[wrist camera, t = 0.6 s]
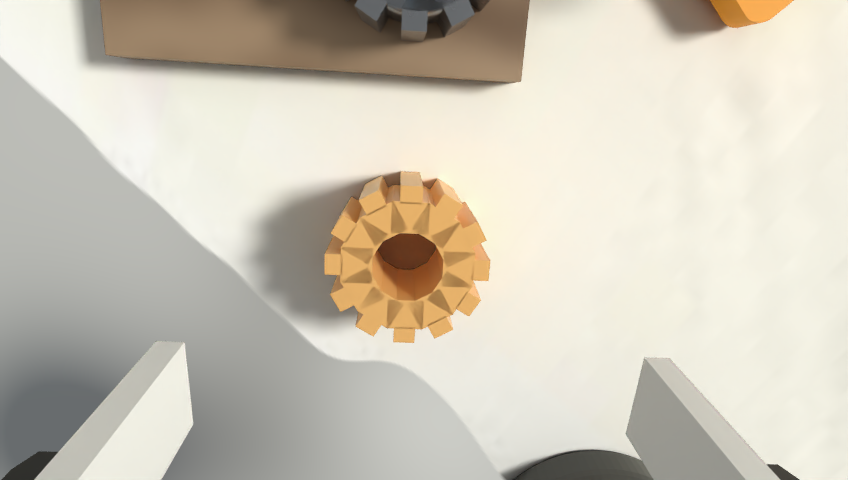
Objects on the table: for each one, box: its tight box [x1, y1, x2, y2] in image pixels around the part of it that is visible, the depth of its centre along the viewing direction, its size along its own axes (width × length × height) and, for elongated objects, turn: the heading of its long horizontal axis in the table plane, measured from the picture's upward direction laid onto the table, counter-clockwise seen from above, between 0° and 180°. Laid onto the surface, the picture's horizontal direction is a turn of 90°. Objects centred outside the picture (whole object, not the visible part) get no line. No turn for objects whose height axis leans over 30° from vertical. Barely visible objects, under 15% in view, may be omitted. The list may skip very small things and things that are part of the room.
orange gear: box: [325, 171, 490, 343], centre depth 28 cm, size 8×8×5 cm
